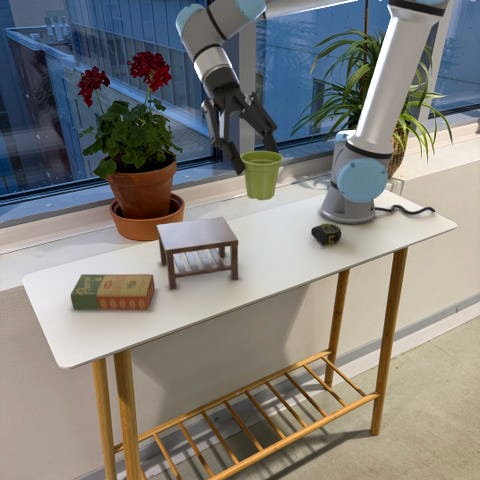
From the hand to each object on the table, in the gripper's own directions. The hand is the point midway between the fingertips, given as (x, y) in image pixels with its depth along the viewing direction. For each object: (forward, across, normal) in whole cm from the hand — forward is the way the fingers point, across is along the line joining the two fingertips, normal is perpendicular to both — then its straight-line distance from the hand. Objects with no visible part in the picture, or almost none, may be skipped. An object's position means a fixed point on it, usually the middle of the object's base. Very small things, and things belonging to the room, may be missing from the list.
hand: (260, 167), depth 106 cm
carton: (+13, +36, -19) cm, 43 cm away
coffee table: (+13, +15, -19) cm, 28 cm away
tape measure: (+18, -20, -14) cm, 31 cm away
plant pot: (+5, 0, -4) cm, 7 cm away
